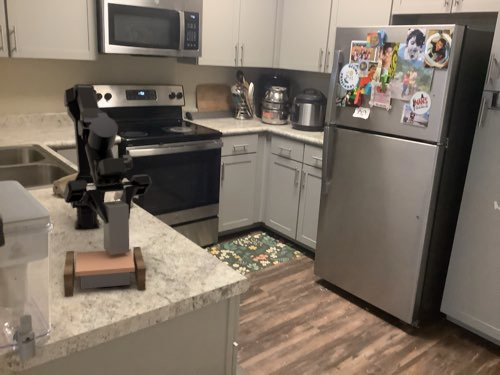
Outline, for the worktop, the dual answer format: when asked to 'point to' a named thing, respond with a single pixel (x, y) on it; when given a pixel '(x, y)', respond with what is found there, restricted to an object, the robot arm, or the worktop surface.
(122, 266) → the trapdoor
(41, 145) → the worktop surface
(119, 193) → the arrowhead
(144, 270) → the brown bracket
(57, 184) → the decorative stone
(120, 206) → the gray rectangular block
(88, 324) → the worktop surface
